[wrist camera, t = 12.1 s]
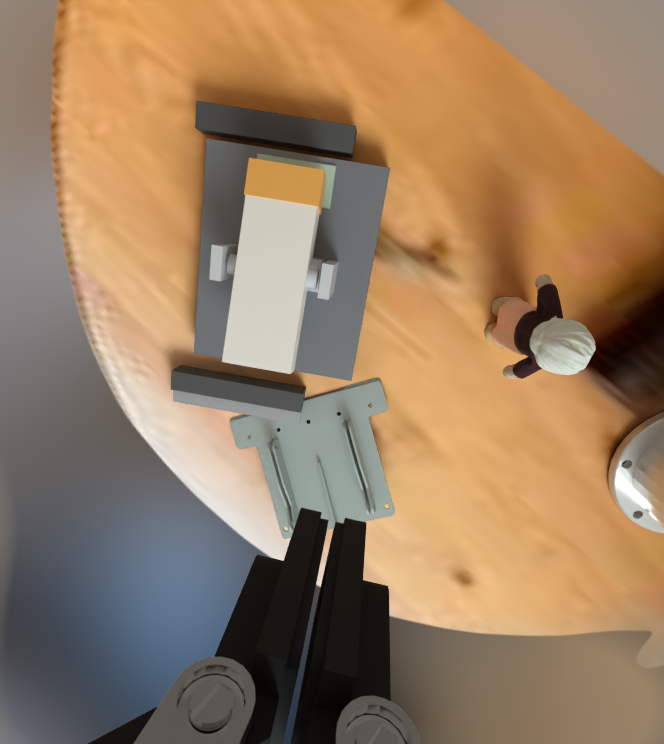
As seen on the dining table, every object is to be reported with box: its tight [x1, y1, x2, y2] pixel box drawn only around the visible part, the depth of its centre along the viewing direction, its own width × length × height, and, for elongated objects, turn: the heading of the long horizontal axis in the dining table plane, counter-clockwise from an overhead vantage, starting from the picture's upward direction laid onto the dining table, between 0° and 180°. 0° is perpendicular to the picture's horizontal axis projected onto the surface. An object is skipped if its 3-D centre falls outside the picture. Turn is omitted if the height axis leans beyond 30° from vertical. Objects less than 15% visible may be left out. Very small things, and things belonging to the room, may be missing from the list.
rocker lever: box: [222, 158, 326, 374], centre depth 31 cm, size 6×14×2 cm, turn 171°
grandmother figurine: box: [485, 275, 596, 379], centre depth 30 cm, size 8×4×13 cm, turn 0°
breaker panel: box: [194, 138, 390, 381], centre depth 33 cm, size 14×17×7 cm
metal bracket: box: [230, 378, 395, 539], centre depth 41 cm, size 14×6×15 cm
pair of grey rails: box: [171, 101, 357, 424], centre depth 36 cm, size 13×25×2 cm, turn 171°
